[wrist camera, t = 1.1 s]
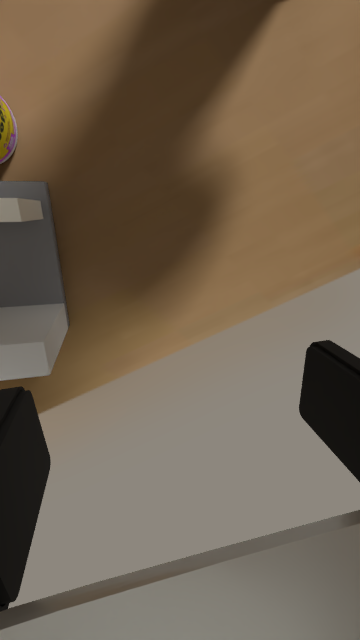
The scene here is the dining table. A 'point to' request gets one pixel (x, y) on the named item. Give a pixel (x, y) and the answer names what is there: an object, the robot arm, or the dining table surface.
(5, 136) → the supplement bottle
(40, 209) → the cream flat slab
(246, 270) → the dining table surface
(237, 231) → the dining table surface
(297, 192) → the dining table surface
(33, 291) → the grey l-shaped piece
